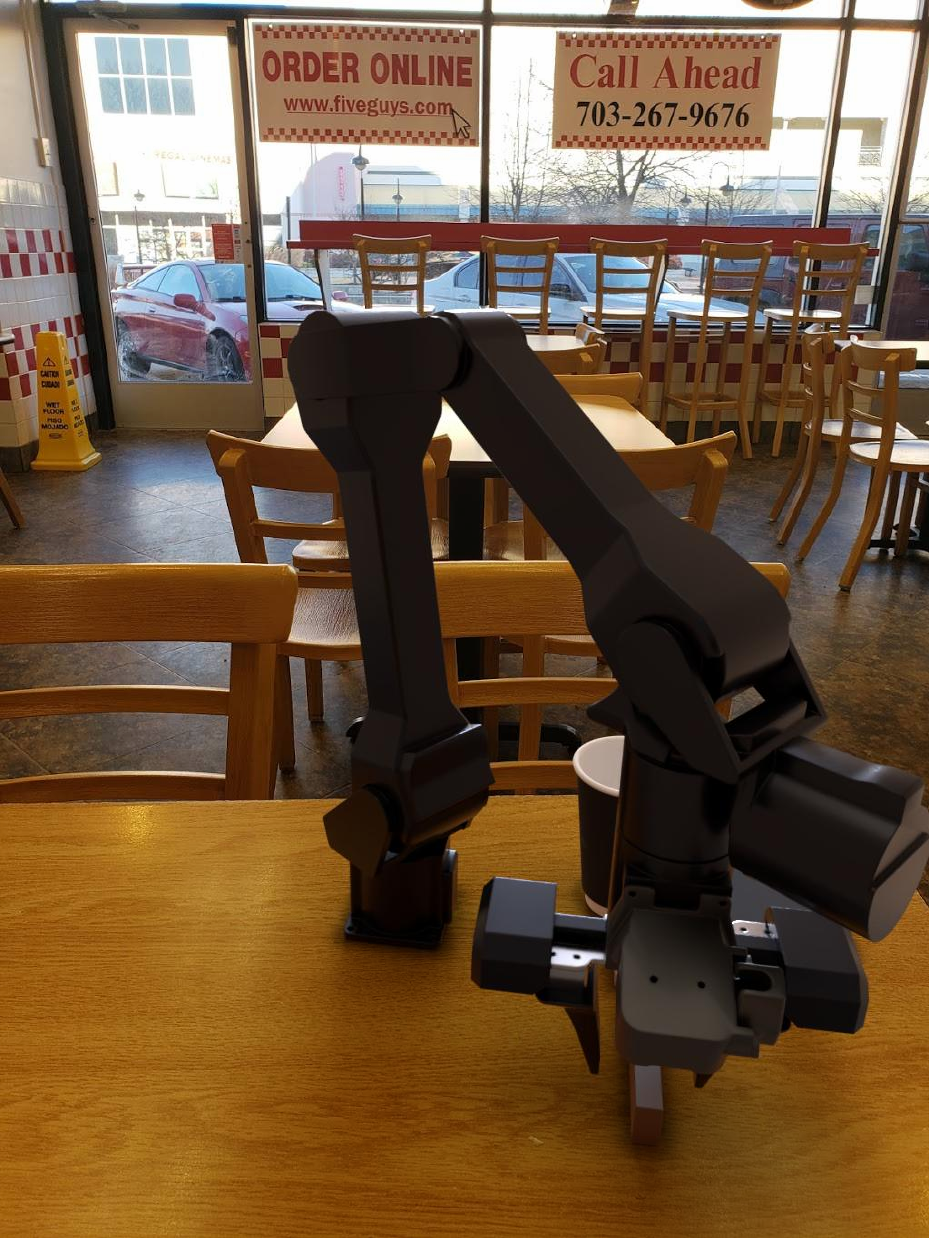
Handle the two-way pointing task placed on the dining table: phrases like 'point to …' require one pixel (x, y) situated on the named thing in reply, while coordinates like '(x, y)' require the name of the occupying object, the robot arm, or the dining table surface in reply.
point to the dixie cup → (598, 814)
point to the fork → (645, 1102)
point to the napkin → (755, 899)
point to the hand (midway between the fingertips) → (645, 1074)
